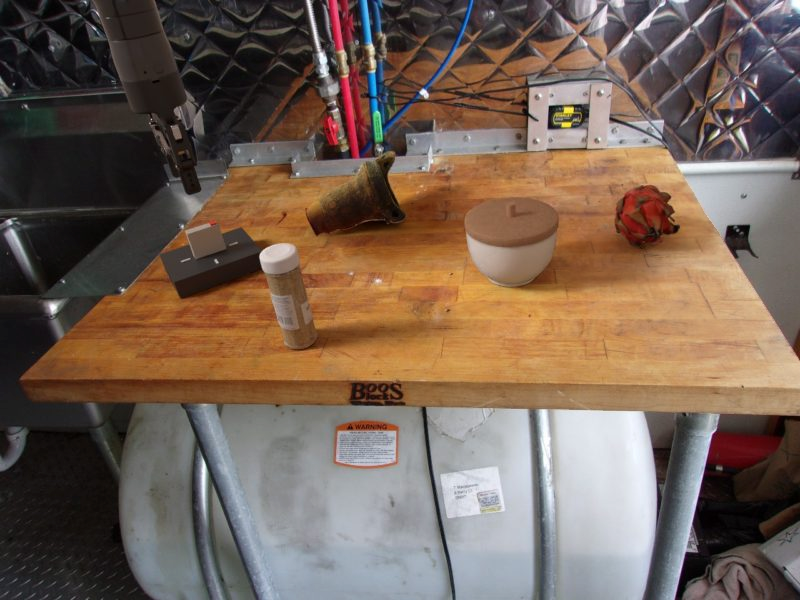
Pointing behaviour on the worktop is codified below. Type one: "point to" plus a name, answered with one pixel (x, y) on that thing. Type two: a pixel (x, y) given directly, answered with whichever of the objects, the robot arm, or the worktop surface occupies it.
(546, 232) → the lidded bowl
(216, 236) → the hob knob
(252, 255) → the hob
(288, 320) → the sprinkles bottle
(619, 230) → the dragon fruit
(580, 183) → the worktop surface
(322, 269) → the worktop surface
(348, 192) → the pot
